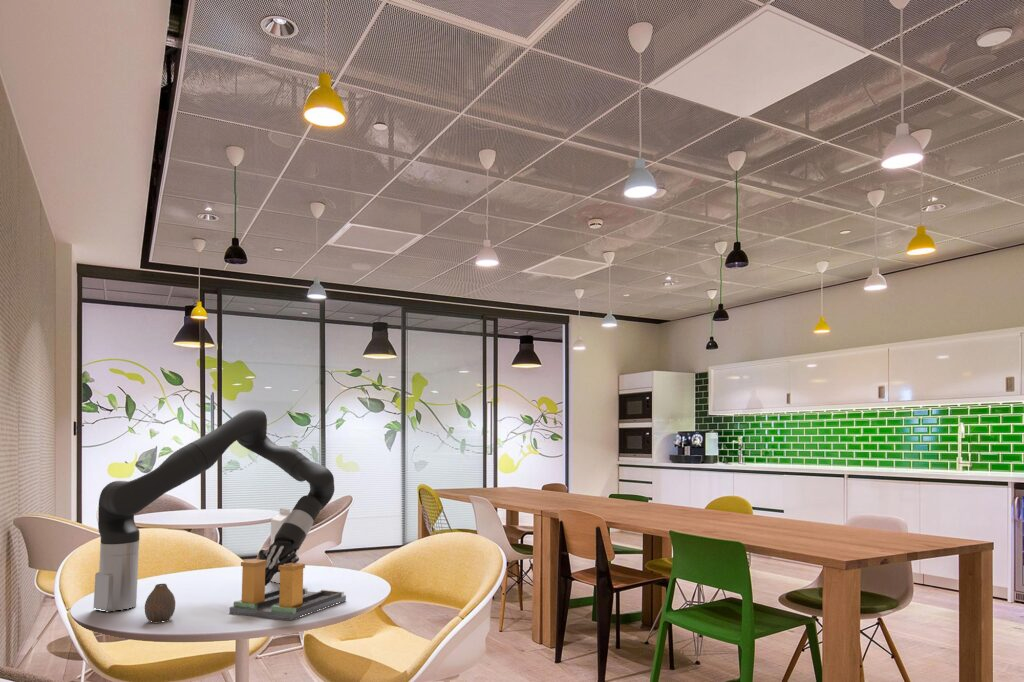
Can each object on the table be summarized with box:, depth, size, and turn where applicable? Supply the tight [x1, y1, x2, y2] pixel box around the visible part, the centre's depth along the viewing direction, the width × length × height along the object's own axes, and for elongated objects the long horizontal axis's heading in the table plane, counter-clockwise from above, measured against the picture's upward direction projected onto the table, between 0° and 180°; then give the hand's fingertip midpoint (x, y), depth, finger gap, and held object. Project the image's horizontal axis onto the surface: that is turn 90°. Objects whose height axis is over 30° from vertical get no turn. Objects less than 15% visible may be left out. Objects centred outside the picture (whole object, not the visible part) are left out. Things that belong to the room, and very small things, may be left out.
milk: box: [269, 507, 298, 584], centre depth 230 cm, size 6×6×22 cm
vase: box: [144, 583, 176, 623], centre depth 183 cm, size 7×7×9 cm
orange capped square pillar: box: [240, 558, 267, 603], centre depth 192 cm, size 5×5×11 cm
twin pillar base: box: [228, 562, 347, 622], centre depth 196 cm, size 22×20×12 cm
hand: (262, 583), depth 195 cm, fingers closed
